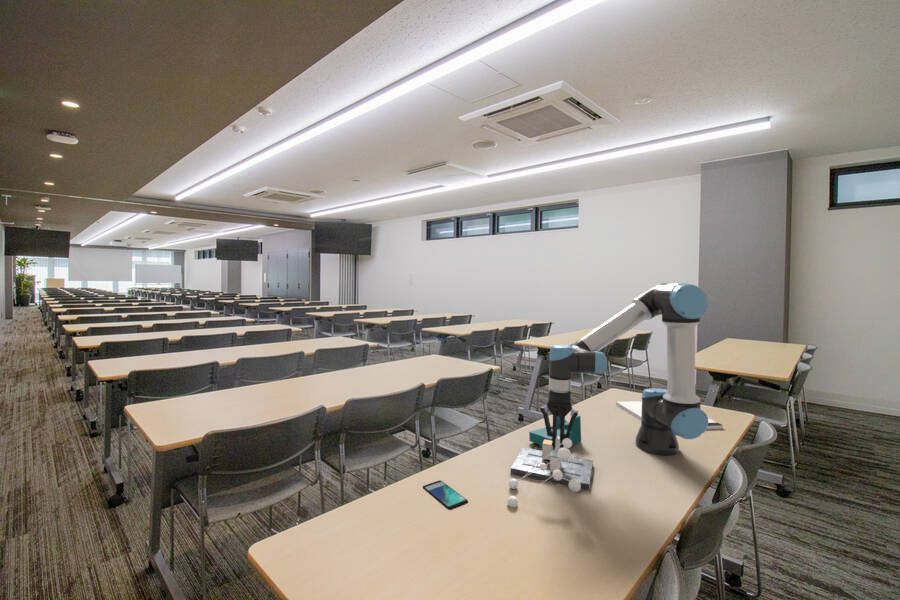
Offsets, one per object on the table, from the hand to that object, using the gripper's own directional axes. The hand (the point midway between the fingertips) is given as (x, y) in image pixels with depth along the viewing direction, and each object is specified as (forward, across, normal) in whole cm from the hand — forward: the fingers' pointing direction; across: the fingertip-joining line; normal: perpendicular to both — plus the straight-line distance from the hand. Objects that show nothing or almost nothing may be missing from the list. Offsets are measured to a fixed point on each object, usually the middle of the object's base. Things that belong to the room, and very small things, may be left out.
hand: (557, 455), depth 139 cm
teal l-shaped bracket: (+4, +4, -19) cm, 20 cm away
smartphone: (+4, +28, +34) cm, 44 cm away
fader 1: (+1, +4, 0) cm, 4 cm away
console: (+4, +1, +4) cm, 5 cm away
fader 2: (+1, -1, +8) cm, 9 cm away
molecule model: (+4, +1, +21) cm, 22 cm away
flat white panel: (+4, -40, -75) cm, 86 cm away
